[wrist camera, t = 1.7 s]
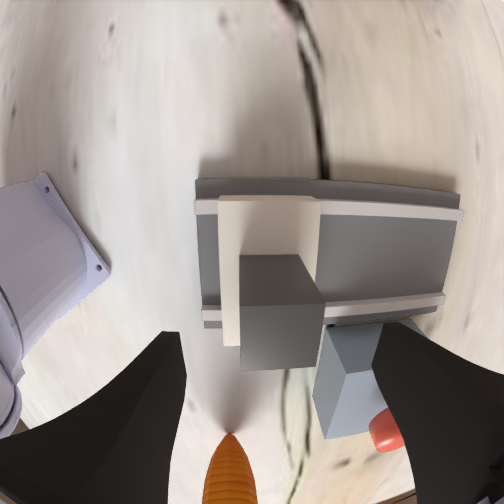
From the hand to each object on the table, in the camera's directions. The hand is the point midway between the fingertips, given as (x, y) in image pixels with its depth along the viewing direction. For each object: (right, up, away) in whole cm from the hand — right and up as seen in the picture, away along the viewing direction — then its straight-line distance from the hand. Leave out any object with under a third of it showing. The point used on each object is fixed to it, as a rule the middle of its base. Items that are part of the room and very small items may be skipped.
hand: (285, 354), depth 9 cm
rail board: (+5, +3, +9) cm, 11 cm away
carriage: (0, +3, +7) cm, 8 cm away
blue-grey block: (+8, -6, +13) cm, 17 cm away
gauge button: (+9, -8, +6) cm, 14 cm away
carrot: (-3, -16, +16) cm, 23 cm away
